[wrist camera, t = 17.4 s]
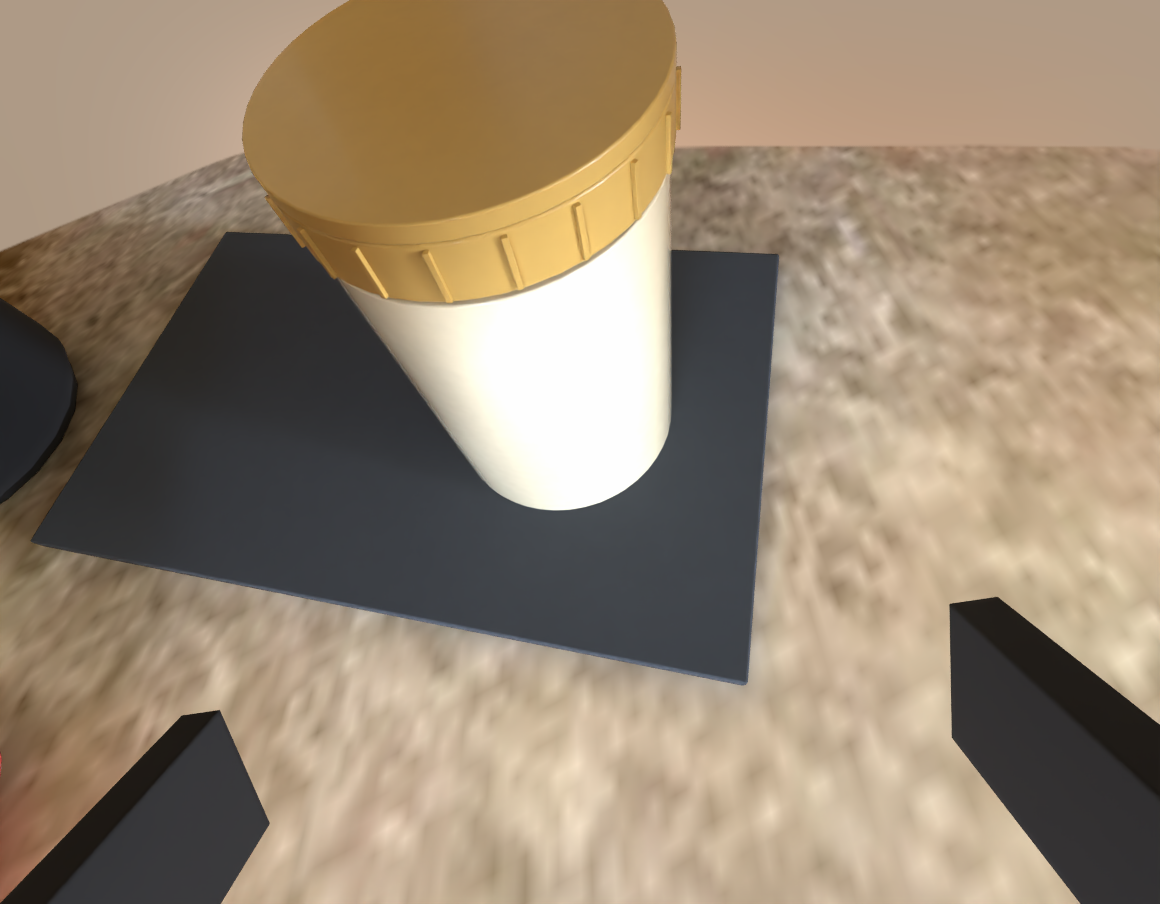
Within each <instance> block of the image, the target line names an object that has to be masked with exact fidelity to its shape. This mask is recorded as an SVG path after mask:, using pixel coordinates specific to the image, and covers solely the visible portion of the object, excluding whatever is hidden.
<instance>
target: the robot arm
mask: <svg viewBox="0 0 1160 904" xmlns="http://www.w3.org/2000/svg"><path fill="white" fill-rule="evenodd" d="M950 655H951V712H952V738H953V740H954V741H955V742H956V743H957V745H958V746H959V747H960V749H961V750H962V751H963V752H964V754H965V755H966V756H967V758H968V759H969V760H970V762H971V763H972V764H973V765H974V767H975V768H976V769H977V771H978V772H979V773H980V774H981V776H982V777H983V778H984V780H985V781H986V782H987V783H988V785H989V786H990V787H991V789H992V790H993V791H994V793H995V794H996V795H997V796H998V798H999V799H1000V800H1001V802H1002V803H1003V804H1004V805H1005V807H1006V808H1007V809H1008V811H1009V812H1010V813H1011V814H1012V816H1013V817H1014V818H1015V820H1016V821H1017V822H1018V824H1019V825H1020V826H1021V827H1022V829H1023V830H1024V831H1025V833H1026V834H1027V835H1028V836H1029V838H1030V839H1031V840H1032V842H1033V843H1034V844H1035V846H1036V847H1037V848H1038V849H1039V851H1040V852H1041V853H1042V855H1043V856H1044V857H1045V858H1046V860H1047V861H1048V862H1049V864H1050V865H1051V866H1052V867H1053V869H1054V870H1055V871H1056V873H1057V874H1058V875H1059V877H1060V878H1061V879H1062V880H1063V882H1064V883H1065V884H1066V886H1067V887H1068V888H1069V889H1070V891H1071V892H1072V893H1073V895H1074V896H1075V897H1076V898H1077V900H1078V901H1079V902H1080V904H1160V725H1159V724H1158V723H1157V722H1155V721H1154V720H1153V719H1152V718H1150V717H1149V716H1148V715H1147V714H1145V713H1144V712H1143V711H1141V710H1140V709H1139V708H1138V707H1136V706H1135V705H1134V704H1133V703H1131V702H1130V701H1129V700H1128V699H1126V698H1125V697H1124V696H1122V695H1121V694H1120V693H1119V692H1117V691H1116V690H1115V689H1114V688H1112V687H1111V686H1110V685H1109V684H1107V683H1106V682H1105V681H1103V680H1102V679H1101V678H1100V677H1098V676H1097V675H1096V674H1095V673H1093V672H1092V671H1091V670H1090V669H1088V668H1087V667H1086V666H1084V665H1083V664H1082V663H1081V662H1079V661H1078V660H1077V659H1076V658H1074V657H1073V656H1072V655H1071V654H1069V653H1068V652H1067V651H1065V650H1064V649H1063V648H1062V647H1060V646H1059V645H1058V644H1057V643H1055V642H1054V641H1053V640H1052V639H1050V638H1049V637H1048V636H1046V635H1045V634H1044V633H1043V632H1041V631H1040V630H1039V629H1038V628H1036V627H1035V626H1034V625H1033V624H1031V623H1030V622H1029V621H1027V620H1026V619H1025V618H1024V617H1022V616H1021V615H1020V614H1019V613H1017V612H1016V611H1015V610H1014V609H1012V608H1011V607H1010V606H1008V605H1007V604H1006V603H1005V602H1003V601H1002V600H1001V599H1000V598H998V597H994V598H987V599H980V600H973V601H966V602H959V603H952V604H950ZM269 824H270V823H269V821H268V818H267V816H266V814H265V811H264V809H263V807H262V805H261V802H260V800H259V798H258V796H257V793H256V791H255V789H254V787H253V784H252V782H251V780H250V778H249V775H248V773H247V771H246V768H245V766H244V764H243V762H242V759H241V757H240V755H239V753H238V750H237V748H236V746H235V744H234V741H233V739H232V737H231V735H230V732H229V730H228V728H227V725H226V723H225V721H224V719H223V716H222V714H221V712H220V710H217V711H210V712H204V713H197V714H190V715H183V716H181V717H180V718H179V719H178V720H177V721H176V722H175V723H174V724H173V725H172V726H171V727H170V728H169V730H168V731H167V732H166V733H165V734H164V735H163V736H162V737H161V738H160V739H159V740H158V741H157V742H156V743H155V744H154V745H153V746H152V747H151V748H150V749H149V750H148V751H147V752H146V753H145V754H144V755H143V756H142V757H141V758H140V759H139V760H138V762H137V763H136V764H135V765H134V766H133V767H132V768H131V769H130V770H129V771H128V772H127V773H126V774H125V775H124V776H123V777H122V778H121V779H120V780H119V781H118V782H117V783H116V784H115V785H114V786H113V787H112V788H111V789H110V790H109V791H108V792H107V794H106V795H105V796H104V797H103V798H102V799H101V800H100V801H99V802H98V803H97V804H96V805H95V806H94V807H93V808H92V809H91V810H90V811H89V812H88V813H87V814H86V815H85V816H84V817H83V818H82V819H81V820H80V821H79V822H78V823H77V824H76V826H75V827H74V828H73V829H72V830H71V831H70V832H69V833H68V834H67V835H66V836H65V837H64V838H63V839H62V840H61V841H60V842H59V843H58V844H57V845H56V846H55V847H54V848H53V849H52V850H51V851H50V852H49V853H48V854H47V855H46V856H45V858H44V859H43V860H42V861H41V862H40V863H39V864H38V865H37V866H36V867H35V868H34V869H33V870H32V871H31V872H30V873H29V874H28V875H27V876H26V877H25V878H24V879H23V880H22V881H21V882H20V883H19V884H18V885H17V886H16V887H15V889H14V890H13V891H12V892H11V893H10V894H9V895H8V896H7V897H6V898H5V899H4V900H3V901H2V902H1V903H0V904H221V902H222V901H223V899H224V897H225V896H226V894H227V893H228V891H229V889H230V888H231V886H232V884H233V883H234V881H235V880H236V878H237V876H238V875H239V873H240V871H241V870H242V868H243V866H244V865H245V863H246V862H247V860H248V858H249V857H250V855H251V853H252V852H253V850H254V848H255V847H256V845H257V844H258V842H259V840H260V839H261V837H262V835H263V834H264V832H265V831H266V829H267V827H268V826H269Z"/></svg>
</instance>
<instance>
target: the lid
mask: <svg viewBox="0 0 1160 904" xmlns="http://www.w3.org/2000/svg"><path fill="white" fill-rule="evenodd" d="M676 56H677V42H676V35H675V27H674V24H673V21H672V19H671V16H670V13H669V11H668V8H667V7H666V5H665V4H664V2H663V1H662V0H349V1H348V2H346V3H344V4H343V5H341V6H340V7H338V8H336V9H335V10H333V11H331V12H330V13H328V14H327V15H325V16H324V17H322V18H321V19H320V20H318V21H317V22H316V23H314V24H313V25H311V26H310V27H309V28H308V29H306V30H305V31H304V32H303V33H302V34H300V36H298V37H297V38H296V39H295V40H293V41H292V42H291V43H290V44H289V45H288V46H287V47H286V48H285V49H284V50H283V51H282V52H281V54H280V55H279V56H278V57H277V58H276V59H275V60H274V62H273V63H272V64H271V65H270V67H269V68H268V69H267V70H266V72H265V73H264V75H263V76H262V78H261V79H260V81H259V83H258V84H257V86H256V88H255V89H254V91H253V94H252V96H251V99H250V101H249V103H248V105H247V109H246V113H245V117H244V121H243V133H242V141H243V146H244V152H245V157H246V160H247V162H248V164H249V167H250V169H251V171H252V173H253V175H254V176H255V178H256V179H257V180H258V182H259V183H260V184H261V186H262V187H263V188H264V190H265V191H266V192H267V194H268V195H267V196H265V199H266V201H267V202H268V203H269V205H270V206H271V207H272V209H273V210H274V211H275V213H276V214H277V215H278V217H279V218H280V219H281V221H282V222H283V223H284V225H285V226H286V227H287V229H288V230H289V231H290V233H291V234H292V235H293V237H294V238H295V239H296V241H297V242H298V243H299V245H300V246H301V247H302V248H303V247H305V246H306V247H307V248H308V249H309V251H310V252H311V253H312V255H313V256H314V257H315V259H316V260H317V261H318V262H319V263H320V264H322V265H323V267H324V268H325V270H326V271H327V272H328V274H329V275H330V276H331V278H333V279H336V278H337V277H339V278H340V279H342V280H344V281H345V282H347V283H349V284H351V285H353V286H355V287H358V288H360V289H363V290H365V291H368V292H370V293H374V294H377V295H380V297H381V298H383V299H387V298H388V297H389V298H393V299H401V300H408V301H416V302H446V303H453V302H454V301H463V300H474V299H480V298H485V297H490V296H495V295H501V294H504V293H508V292H511V291H514V290H521V289H524V287H528V286H531V285H534V284H536V283H539V282H541V281H543V280H546V279H548V278H551V277H553V276H556V275H558V274H560V273H563V272H564V271H566V270H568V269H570V268H572V267H573V266H575V265H577V264H579V263H581V262H583V261H587V260H589V259H590V257H591V256H592V255H594V254H595V253H597V252H598V251H600V250H601V249H603V248H604V247H606V246H607V245H609V244H610V243H611V242H612V241H613V240H615V239H616V238H617V237H618V236H619V235H620V234H622V233H623V232H624V231H625V230H626V229H628V228H629V227H630V226H631V224H632V223H633V222H634V221H635V220H639V219H640V218H641V217H642V213H643V212H644V210H645V209H646V208H647V206H648V205H649V204H650V202H651V201H652V199H653V198H654V196H655V195H656V194H657V192H658V191H659V189H660V187H661V185H662V183H663V181H664V179H665V177H666V175H667V174H671V172H672V157H673V154H674V149H675V139H676V130H680V119H681V118H680V116H681V66H677V67H676V63H677V57H676Z"/></svg>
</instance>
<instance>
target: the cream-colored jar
mask: <svg viewBox="0 0 1160 904" xmlns="http://www.w3.org/2000/svg"><path fill="white" fill-rule="evenodd" d="M336 280H337V281H338V282H339V284H340V285H341V287H342V288H343V289H344V291H345V292H346V293H347V295H348V296H349V298H350V299H351V300H352V302H353V303H354V304H355V306H356V307H357V309H358V310H359V311H360V313H361V314H362V315H363V317H364V318H365V320H366V321H367V322H368V324H369V325H370V327H371V328H372V329H373V331H374V332H375V333H376V335H377V336H378V338H379V339H380V340H381V342H382V343H383V344H384V346H385V347H386V349H387V350H388V351H389V353H390V354H391V355H392V357H393V358H394V360H395V361H396V362H397V364H398V365H399V366H400V368H401V369H402V371H403V372H404V373H405V375H406V376H407V378H408V379H409V380H410V382H411V383H412V384H413V386H414V387H415V389H416V390H417V391H418V393H419V394H420V395H421V397H422V398H423V400H424V401H425V402H426V404H427V405H428V406H429V408H430V409H431V411H432V412H433V413H434V415H435V416H436V417H437V419H438V420H439V422H440V423H441V424H442V426H443V427H444V429H445V430H446V431H447V433H448V434H449V435H450V437H451V438H452V440H453V441H454V442H455V444H456V445H457V446H458V448H459V449H460V451H461V452H462V453H463V455H464V456H465V457H466V459H467V460H468V462H469V463H470V464H471V466H472V467H473V468H474V470H475V471H476V472H477V474H478V475H479V476H480V478H481V479H482V480H483V481H484V482H485V483H486V484H487V485H488V486H489V487H490V488H491V489H493V490H494V491H496V492H497V493H498V494H500V495H501V496H503V497H505V498H507V499H509V500H511V501H513V502H516V503H518V504H521V505H524V506H527V507H532V508H537V509H544V510H571V509H576V508H582V507H587V506H590V505H593V504H597V503H600V502H602V501H604V500H607V499H609V498H611V497H613V496H615V495H617V494H618V493H620V492H622V491H623V490H625V489H627V488H628V487H629V486H630V485H632V484H633V483H634V482H636V481H637V480H638V479H639V478H640V477H641V476H642V475H643V474H644V473H645V472H646V471H647V470H648V469H649V467H650V466H651V465H652V463H653V462H654V461H655V460H656V458H657V456H658V455H659V453H660V451H661V449H662V448H663V445H664V443H665V440H666V438H667V435H668V431H669V427H670V423H671V411H672V343H671V174H667V175H666V177H665V179H664V181H663V183H662V185H661V187H660V189H659V191H658V192H657V194H656V195H655V196H654V198H653V199H652V201H651V202H650V204H649V205H648V206H647V208H646V209H645V210H644V212H643V213H642V217H641V218H640V219H639V220H635V221H634V222H633V223H632V224H631V226H630V227H629V228H628V229H626V230H625V231H624V232H623V233H622V234H620V235H619V236H618V237H617V238H616V239H615V240H613V241H612V242H611V243H610V244H609V245H607V246H606V247H604V248H603V249H601V250H600V251H598V252H597V253H595V254H594V255H592V256H591V257H590V259H589V260H587V261H583V262H581V263H579V264H577V265H575V266H573V267H572V268H570V269H568V270H566V271H564V272H563V273H560V274H558V275H556V276H553V277H551V278H548V279H546V280H543V281H541V282H539V283H536V284H534V285H531V286H528V287H524V289H521V290H514V291H511V292H508V293H504V294H501V295H495V296H490V297H485V298H480V299H474V300H463V301H454V302H453V303H446V302H416V301H408V300H401V299H393V298H389V297H388V298H387V299H383V298H381V297H380V295H377V294H374V293H370V292H368V291H365V290H363V289H360V288H358V287H355V286H353V285H351V284H349V283H347V282H345V281H344V280H342V279H340V278H339V277H337V278H336Z"/></svg>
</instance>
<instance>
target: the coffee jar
mask: <svg viewBox="0 0 1160 904" xmlns="http://www.w3.org/2000/svg"><path fill="white" fill-rule="evenodd" d="M77 387H78V384H77V381H76V378H75V375H74V372H73V370H72V367H71V364H70V363H69V360H68V357H67V355H66V352H65V349H64V347H63V345H62V344H61V342H60V341H59V339H58V338H57V337H55V336H54V335H53V334H52V333H50V332H49V331H48V330H47V329H45V328H44V327H43V326H42V325H40V324H39V323H37V322H36V321H34V320H33V319H31V318H30V317H28V316H27V315H25V314H24V313H22V312H21V311H19V310H18V309H16V308H15V307H13V306H12V305H10V304H9V303H7V302H6V301H4V300H3V299H1V298H0V504H1V503H2V502H4V501H6V500H7V499H9V498H10V497H11V496H12V495H13V494H14V493H15V492H16V491H17V490H18V489H19V488H21V487H22V486H23V485H24V484H25V483H26V482H27V481H28V480H29V479H30V478H31V477H33V476H34V475H35V474H36V473H37V472H38V471H39V470H40V468H41V467H42V466H43V464H44V463H45V462H46V460H47V459H48V458H49V456H50V455H51V454H52V452H53V451H54V450H55V448H56V447H57V446H58V444H59V443H60V442H61V440H62V438H63V436H64V434H65V431H66V429H67V427H68V425H69V422H70V420H71V418H72V416H73V413H74V411H75V404H76V395H77Z"/></svg>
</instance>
